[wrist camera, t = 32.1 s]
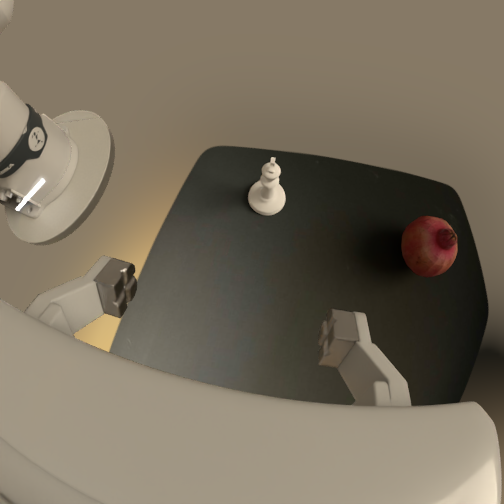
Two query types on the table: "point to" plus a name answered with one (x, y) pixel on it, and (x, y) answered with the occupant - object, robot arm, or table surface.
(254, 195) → the chess piece
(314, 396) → the table surface
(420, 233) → the fruit
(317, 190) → the table surface
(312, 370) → the table surface
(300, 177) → the table surface
